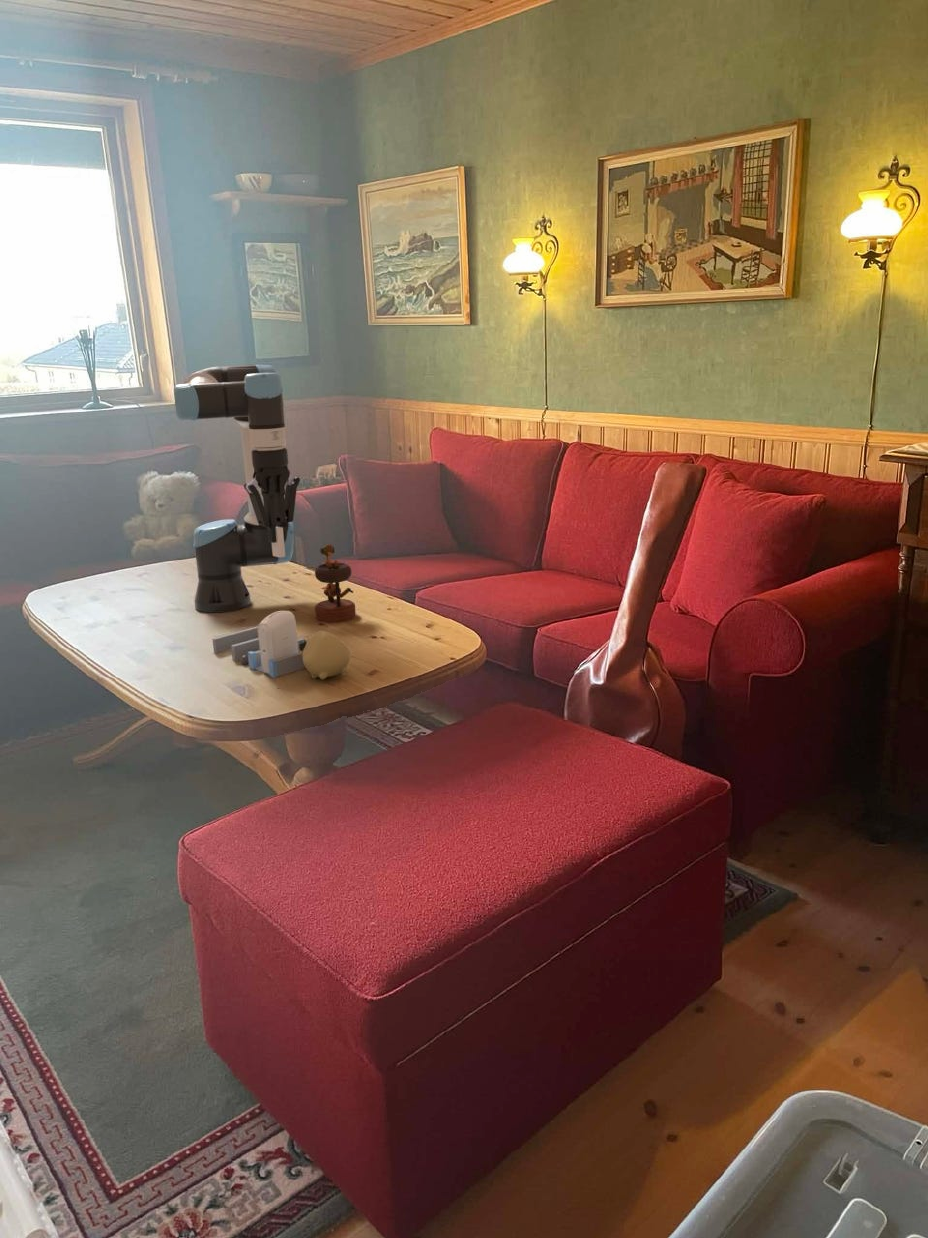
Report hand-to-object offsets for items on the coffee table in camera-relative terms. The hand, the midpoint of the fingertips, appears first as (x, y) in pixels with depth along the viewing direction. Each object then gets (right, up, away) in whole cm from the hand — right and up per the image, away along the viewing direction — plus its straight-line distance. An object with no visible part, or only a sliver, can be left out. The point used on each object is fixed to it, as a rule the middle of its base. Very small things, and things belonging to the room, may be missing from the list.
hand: (279, 555), depth 205 cm
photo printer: (0, -25, +3) cm, 25 cm away
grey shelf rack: (-4, -23, +11) cm, 25 cm away
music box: (+7, -14, +40) cm, 43 cm away
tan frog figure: (+11, -27, -3) cm, 29 cm away
